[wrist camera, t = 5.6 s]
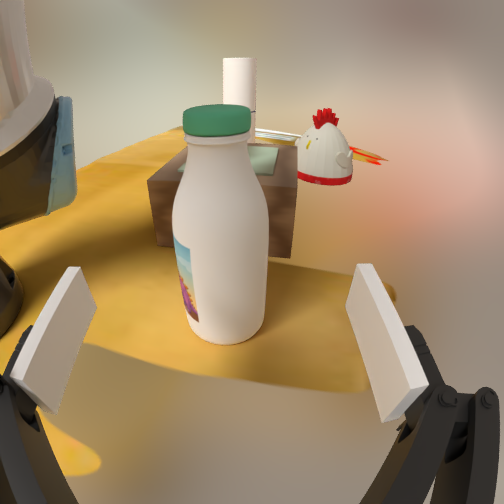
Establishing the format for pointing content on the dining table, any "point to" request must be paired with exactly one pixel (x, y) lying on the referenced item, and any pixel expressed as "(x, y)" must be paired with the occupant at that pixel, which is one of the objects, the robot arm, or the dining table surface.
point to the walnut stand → (271, 181)
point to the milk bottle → (221, 227)
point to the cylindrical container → (241, 86)
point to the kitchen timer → (324, 152)
